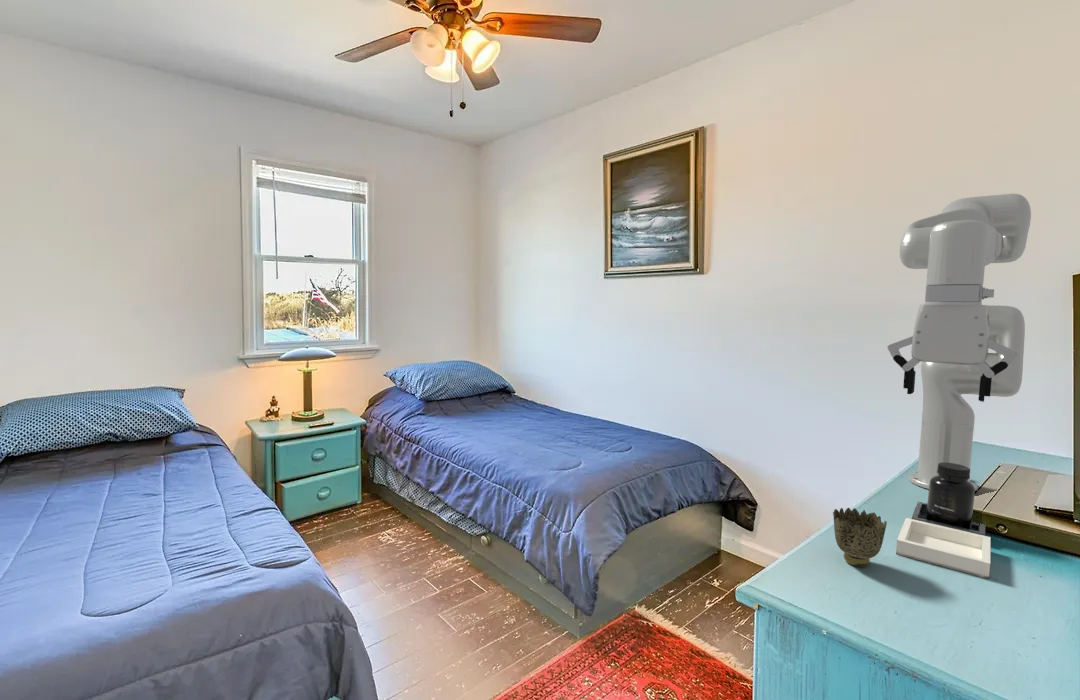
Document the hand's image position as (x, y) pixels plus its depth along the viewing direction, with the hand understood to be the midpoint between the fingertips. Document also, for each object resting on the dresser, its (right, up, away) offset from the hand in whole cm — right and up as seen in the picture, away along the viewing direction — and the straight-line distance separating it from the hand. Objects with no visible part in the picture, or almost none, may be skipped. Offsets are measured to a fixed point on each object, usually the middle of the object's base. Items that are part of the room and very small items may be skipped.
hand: (944, 396), depth 89 cm
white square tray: (0, -27, 0) cm, 27 cm away
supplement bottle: (+9, -26, +10) cm, 29 cm away
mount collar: (+9, -26, +10) cm, 29 cm away
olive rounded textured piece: (-17, -27, -4) cm, 33 cm away
